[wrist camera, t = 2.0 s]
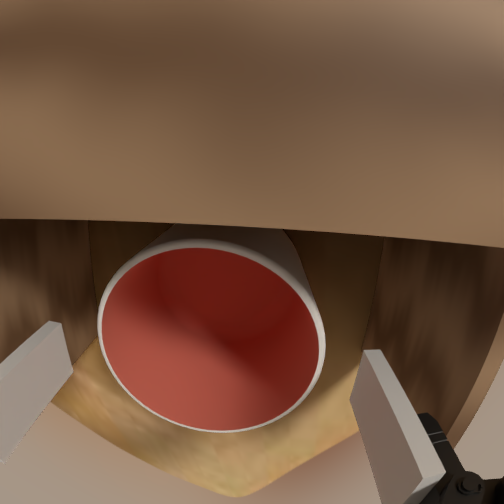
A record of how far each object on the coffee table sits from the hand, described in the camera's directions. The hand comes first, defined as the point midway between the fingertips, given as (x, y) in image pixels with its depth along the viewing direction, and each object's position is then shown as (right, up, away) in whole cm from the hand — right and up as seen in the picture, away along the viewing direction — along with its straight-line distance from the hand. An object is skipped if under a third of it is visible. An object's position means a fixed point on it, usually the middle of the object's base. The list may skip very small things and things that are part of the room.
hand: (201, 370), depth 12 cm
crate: (+1, +8, +9) cm, 12 cm away
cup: (0, +3, +10) cm, 11 cm away
